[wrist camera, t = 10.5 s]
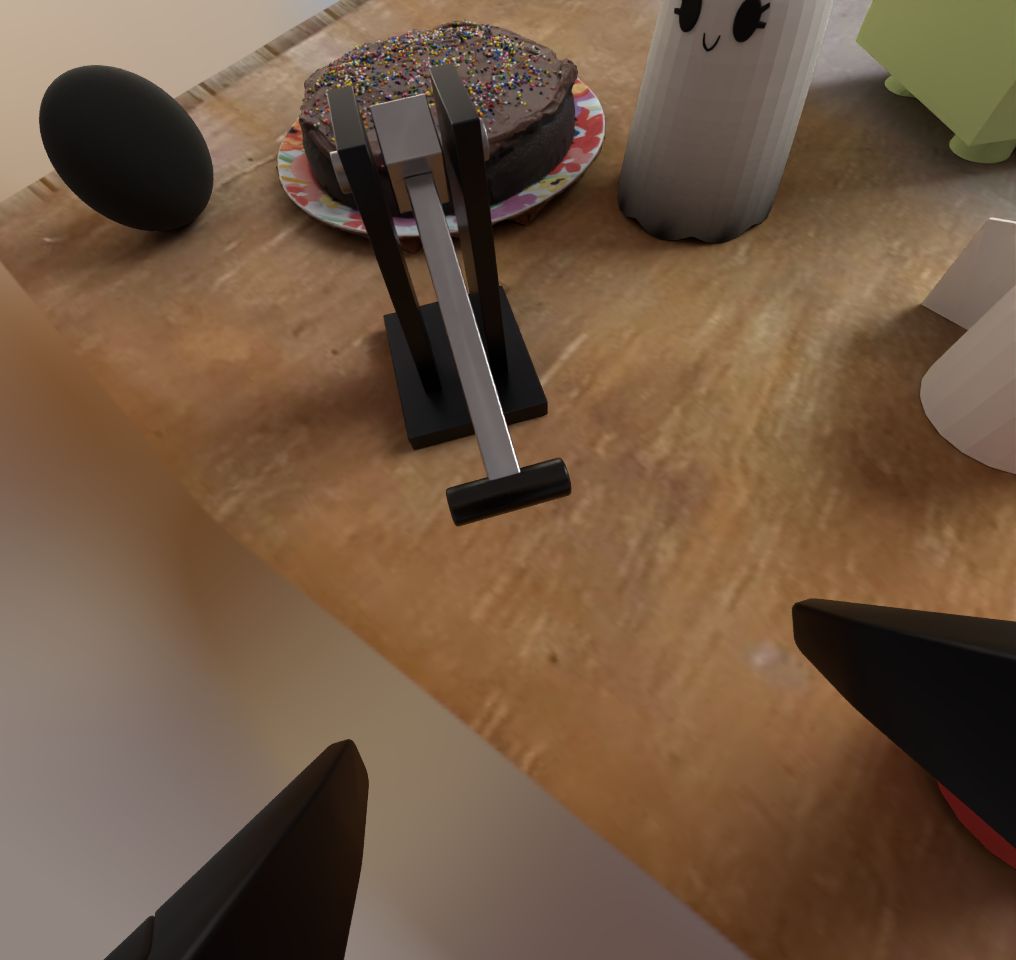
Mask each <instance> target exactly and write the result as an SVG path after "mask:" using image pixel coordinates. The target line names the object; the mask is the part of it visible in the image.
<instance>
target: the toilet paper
mask: <svg viewBox="0 0 1016 960" xmlns="http://www.w3.org/2000/svg"><path fill="white" fill-rule="evenodd" d="M921 305H923V306H925V307H926V308H928V309H930V310H932V311H934V312H936V313H937V314H939V315H941V316H943V317H945V318H946V319H948V320H950V321H952V322H954V323H956V324H957V325H959V326H961V327H963V328H965V329H967V330H968V331H967V332H966V333H965V334H964V335H963V336H962V337H961V338H960V339H959V340H958V341H957V342H955V343H954V344H953V345H952V346H951V347H950V348H949V349H948V350H947V351H946V352H945V353H944V354H943V355H942V356H941V357H940V358H939V359H938V360H937V361H936V362H935V363H934V364H933V365H932V366H931V367H930V368H929V370H928V371H927V373H926V374H925V375H924V377H923V378H922V381H921V389H920V399H921V402H922V405H923V408H924V411H925V414H926V416H927V417H928V419H929V420H930V421H931V423H932V424H933V425H934V427H935V428H936V430H937V431H938V432H939V434H940V435H941V436H943V437H944V438H945V439H946V440H947V441H949V442H950V443H951V444H952V445H954V446H955V447H956V448H957V449H958V450H960V451H961V452H962V453H964V454H966V455H968V456H970V457H972V458H974V459H976V460H977V461H979V462H981V463H983V464H985V465H987V466H989V467H992V468H995V469H999V470H1002V471H1006V472H1009V473H1013V474H1016V221H1010V220H1004V219H998V218H992V217H991V218H989V219H988V220H987V222H986V223H985V224H984V225H983V227H982V228H981V229H980V230H979V232H978V233H977V234H976V235H975V237H974V238H973V239H972V240H971V242H970V243H969V244H968V245H967V247H966V248H965V249H964V250H963V252H962V253H961V254H960V255H959V257H958V258H957V259H956V260H955V262H954V263H953V264H952V265H951V267H950V268H949V269H948V270H947V272H946V273H945V274H944V275H943V277H942V278H941V279H940V280H939V282H938V283H937V284H936V285H935V287H934V288H933V289H932V290H931V292H930V293H929V294H928V295H927V297H926V298H925V299H924V300H923V302H922V303H921Z"/></svg>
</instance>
